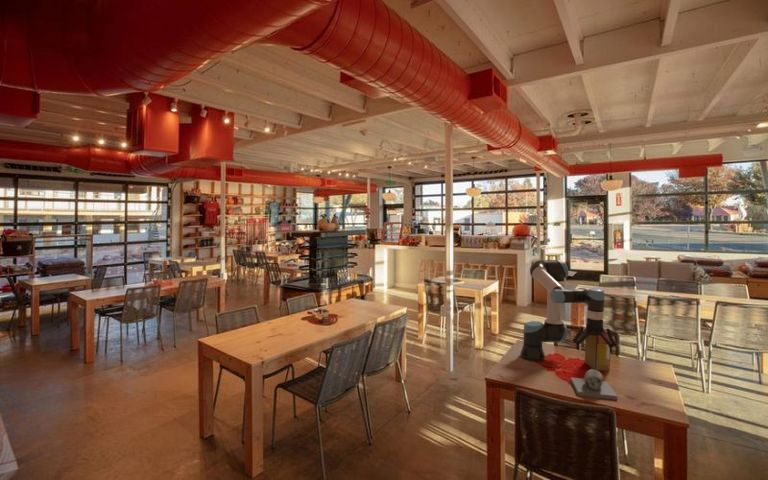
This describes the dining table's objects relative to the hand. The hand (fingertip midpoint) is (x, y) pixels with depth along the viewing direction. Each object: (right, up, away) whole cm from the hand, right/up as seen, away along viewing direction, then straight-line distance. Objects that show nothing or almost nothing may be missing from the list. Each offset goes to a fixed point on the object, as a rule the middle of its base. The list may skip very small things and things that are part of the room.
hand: (593, 357), depth 199 cm
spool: (0, -16, +1) cm, 16 cm away
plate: (0, -18, +1) cm, 18 cm away
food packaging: (+20, -16, +32) cm, 42 cm away
